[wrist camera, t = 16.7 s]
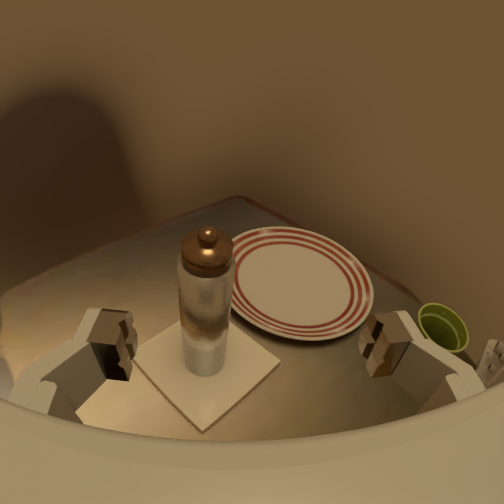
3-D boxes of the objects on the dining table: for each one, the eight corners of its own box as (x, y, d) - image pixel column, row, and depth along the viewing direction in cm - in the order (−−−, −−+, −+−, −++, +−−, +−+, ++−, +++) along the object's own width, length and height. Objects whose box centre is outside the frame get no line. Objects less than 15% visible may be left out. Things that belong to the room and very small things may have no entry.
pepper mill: (205, 336, 38) (210, 206, 27) (233, 360, 36) (253, 230, 24) (175, 357, 35) (163, 225, 23) (203, 384, 33) (205, 255, 21)
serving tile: (206, 308, 44) (206, 303, 43) (278, 365, 37) (280, 360, 37) (130, 357, 35) (128, 352, 34) (202, 434, 28) (202, 431, 28)
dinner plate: (390, 342, 43) (399, 329, 41) (217, 353, 38) (218, 338, 36) (339, 242, 64) (343, 230, 62) (214, 236, 60) (215, 222, 58)
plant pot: (402, 389, 35) (434, 355, 30) (384, 340, 43) (409, 302, 37) (446, 380, 36) (477, 347, 31) (426, 336, 44) (452, 302, 38)
